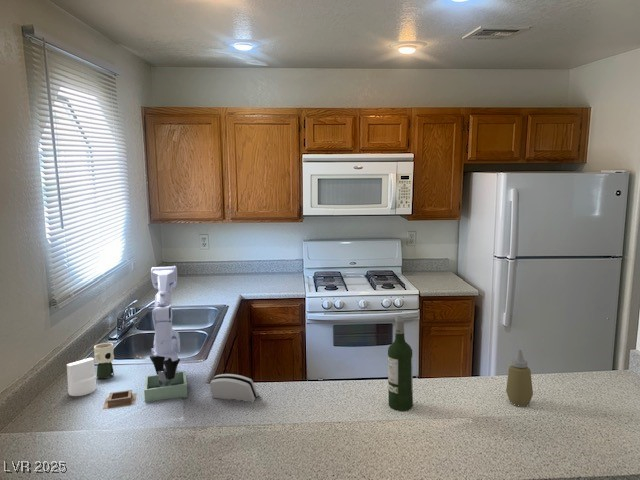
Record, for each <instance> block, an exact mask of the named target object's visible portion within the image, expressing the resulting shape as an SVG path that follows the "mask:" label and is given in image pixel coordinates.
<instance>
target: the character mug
mask: <svg viewBox="0 0 640 480" xmlns="http://www.w3.org/2000/svg"><path fill="white" fill-rule="evenodd" d="M114 350H115V348H114V343H112V342H105V343H104V342H103V343H102V342H101V343H98V344H96V345H94V346H93V352H94V353H93V355H94V363H95V364H96V363H97V365H96V366H97V367H96V368H97V369H96V378H99V379H107V378H108V377H109V378H111V377H113V376H114V375H115V371H114V367H113V363H112V361H114V359H115V355H114Z"/></svg>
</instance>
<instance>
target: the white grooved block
mask: <svg viewBox="0 0 640 480" xmlns="http://www.w3.org/2000/svg"><path fill="white" fill-rule="evenodd" d="M66 374H67V390H68V393H67V395H69V396H71V397H80V396H81V397H82V396H85V395H86V396H87V395H88V394H92V393H94V392H95V391H96V390H97V384H96V382H97V381H96V378H97V377H96V369H95V358H93V357H88V358H84V359H81V360H77V361H74V362H69V363H67V364H66Z"/></svg>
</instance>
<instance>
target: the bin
mask: <svg viewBox="0 0 640 480" xmlns="http://www.w3.org/2000/svg"><path fill="white" fill-rule="evenodd" d="M143 391H144V402H145V403H146V402H153V401H160V400H165V399H171V398H172V399H173V398H179V397H181V399H182V400H183V399H188V383H187V377H186V371H185V370H183V371H179V372H175V377H174V378H173V379H171V386H165V387H159V376H158V375H157V374H152V375H146V376H145V380H144V390H143Z"/></svg>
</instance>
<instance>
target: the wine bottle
mask: <svg viewBox="0 0 640 480" xmlns="http://www.w3.org/2000/svg"><path fill="white" fill-rule="evenodd" d="M394 319H395V333H394V337H395V338H394V341H393V342H392V343H391V344H389V346H388V349H387V380H388V381H387V382H388V383H387V385H388V386H387V387H388V391H387V392H388V394H387V395H388V397H387V398H388V399H387V400H388V406H390V407H389V408H390V409H392V410H393V409H394V411H397V410H398V411H397V412H406V410H407V411H409V409H410V410H411V409H413V406H414V405H413V403H414V396H413V395H414V394H413V393H414V389H413V388H414V387H413V385H414V384H413V383H414V381H413V349H412V347H411V346H410V344H409V343H408V342H407V341H406V339H405V318H404V316H403V315H396V316H395V318H394Z"/></svg>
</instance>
